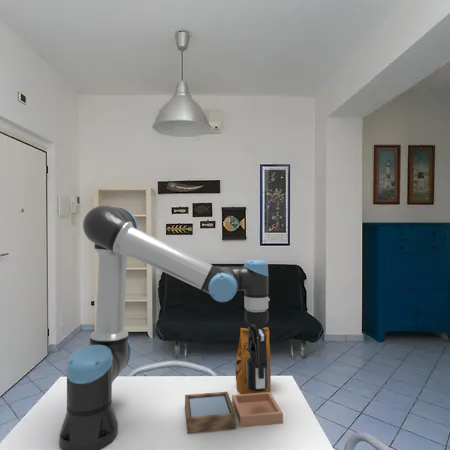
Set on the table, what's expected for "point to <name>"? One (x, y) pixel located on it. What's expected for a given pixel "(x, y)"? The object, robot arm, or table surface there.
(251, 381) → the supplement bottle
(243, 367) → the coffee package
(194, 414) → the pad
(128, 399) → the table surface
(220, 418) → the wooden frame
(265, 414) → the tray
